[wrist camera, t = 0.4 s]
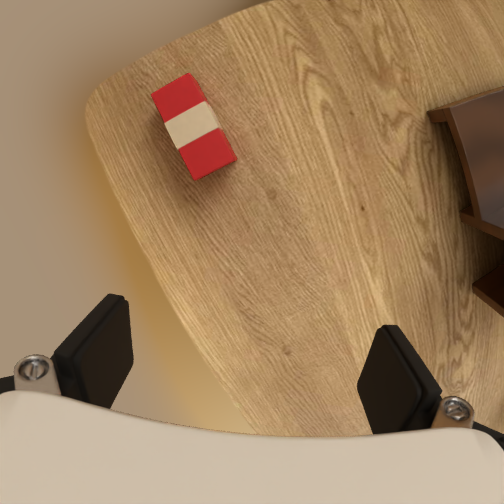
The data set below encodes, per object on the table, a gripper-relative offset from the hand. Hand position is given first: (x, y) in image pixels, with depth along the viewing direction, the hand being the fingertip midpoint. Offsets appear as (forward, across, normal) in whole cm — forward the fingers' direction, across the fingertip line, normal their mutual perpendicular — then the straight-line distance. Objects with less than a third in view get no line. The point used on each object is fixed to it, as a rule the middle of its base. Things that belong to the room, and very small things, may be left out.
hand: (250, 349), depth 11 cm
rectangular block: (+17, +6, -8) cm, 20 cm away
